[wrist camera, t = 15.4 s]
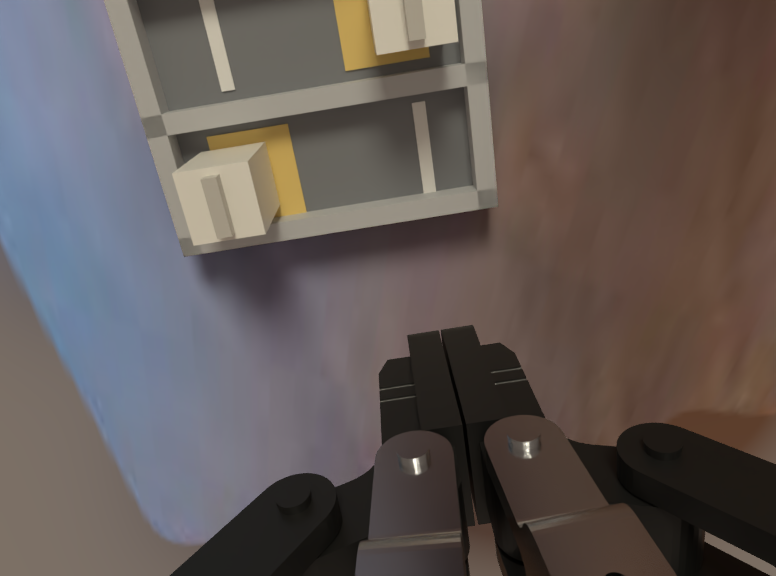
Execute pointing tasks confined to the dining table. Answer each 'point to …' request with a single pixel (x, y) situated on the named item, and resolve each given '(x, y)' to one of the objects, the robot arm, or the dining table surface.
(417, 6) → the tab
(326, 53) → the switch bank
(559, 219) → the dining table surface
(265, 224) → the tab
